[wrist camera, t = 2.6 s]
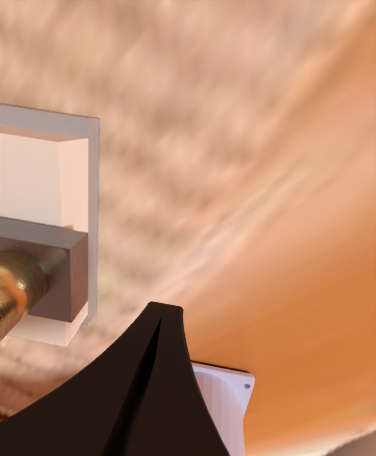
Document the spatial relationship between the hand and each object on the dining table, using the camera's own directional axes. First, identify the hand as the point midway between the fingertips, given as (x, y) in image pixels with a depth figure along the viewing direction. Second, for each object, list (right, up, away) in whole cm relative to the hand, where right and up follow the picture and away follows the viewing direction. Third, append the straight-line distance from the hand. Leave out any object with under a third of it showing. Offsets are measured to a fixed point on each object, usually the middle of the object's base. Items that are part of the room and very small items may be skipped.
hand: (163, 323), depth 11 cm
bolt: (-9, +3, +3) cm, 9 cm away
